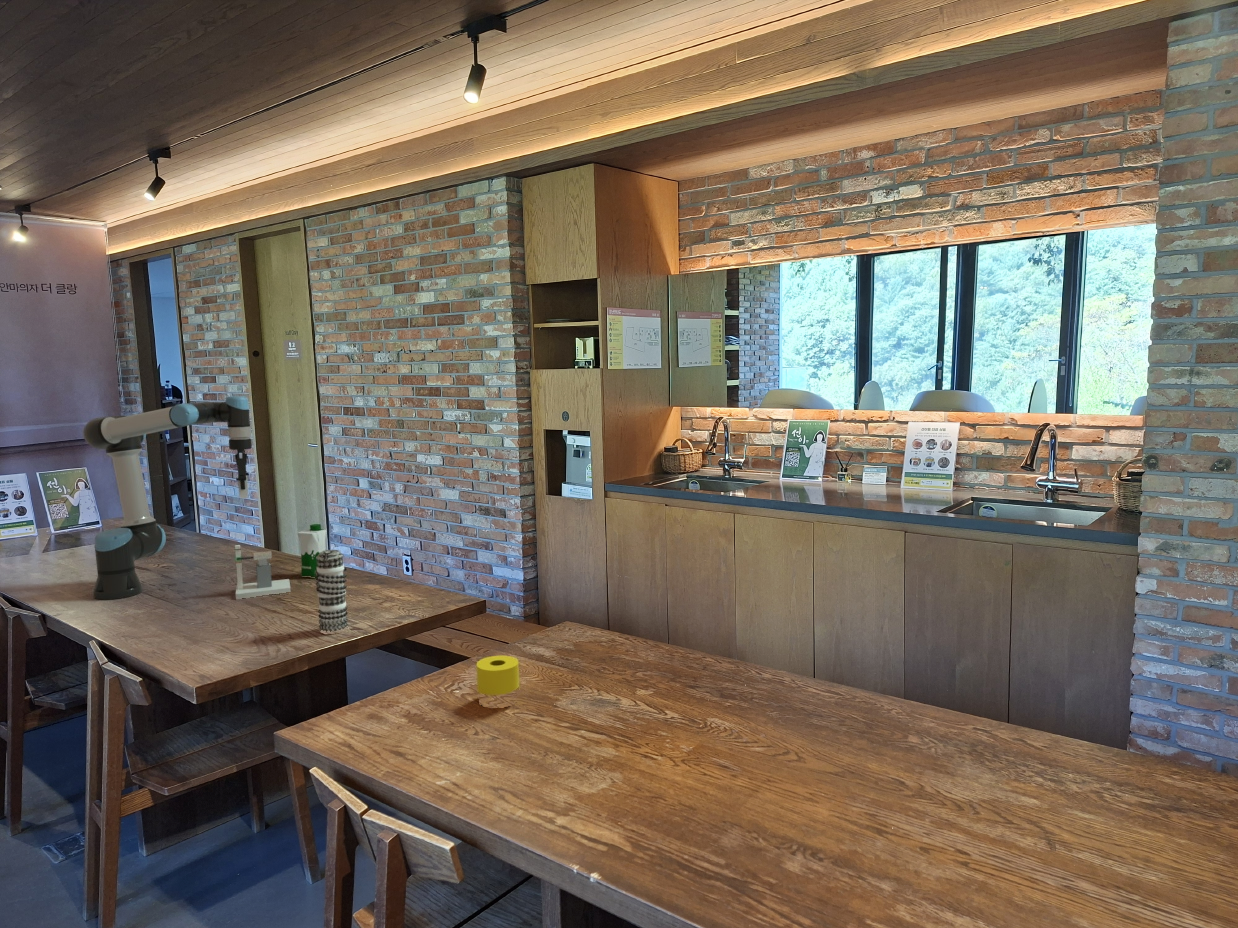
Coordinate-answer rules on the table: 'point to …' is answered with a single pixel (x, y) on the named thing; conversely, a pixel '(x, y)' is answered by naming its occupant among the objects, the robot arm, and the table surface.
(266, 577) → the stand
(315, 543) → the milk carton
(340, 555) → the decorative candle
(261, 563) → the square paddle
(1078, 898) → the table surface
